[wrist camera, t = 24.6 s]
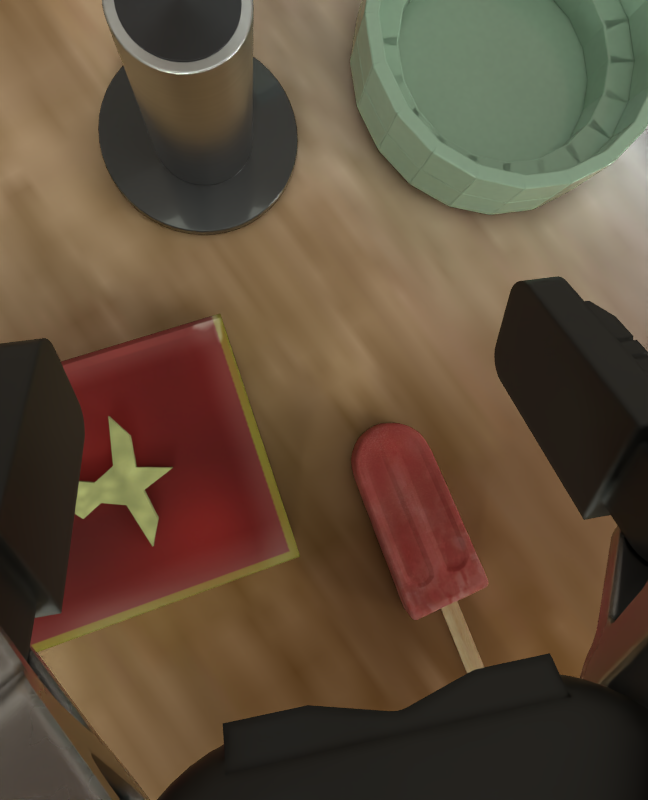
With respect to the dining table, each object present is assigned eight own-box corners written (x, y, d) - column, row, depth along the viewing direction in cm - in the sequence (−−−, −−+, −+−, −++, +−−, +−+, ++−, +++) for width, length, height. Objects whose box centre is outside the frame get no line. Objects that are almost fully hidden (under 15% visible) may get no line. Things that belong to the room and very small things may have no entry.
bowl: (290, 64, 30) (297, 6, 26) (485, -117, 32) (523, -202, 27) (486, 274, 32) (525, 253, 27) (664, 92, 33) (729, 43, 28)
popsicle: (449, 710, 29) (340, 443, 29) (439, 693, 31) (335, 441, 31) (526, 672, 30) (419, 409, 29) (511, 658, 32) (410, 409, 31)
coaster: (58, 131, 29) (54, 125, 28) (200, 3, 29) (199, -5, 29) (201, 274, 29) (200, 272, 29) (335, 146, 30) (337, 141, 30)
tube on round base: (258, 181, 29) (263, 68, 19) (160, 190, 29) (112, 77, 19) (228, -33, 29) (216, -258, 19) (128, -28, 28) (62, -259, 18)
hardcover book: (-202, 449, 27) (-285, 458, 23) (222, 320, 30) (217, 307, 25) (-117, 683, 27) (-183, 734, 23) (293, 536, 30) (300, 558, 26)
